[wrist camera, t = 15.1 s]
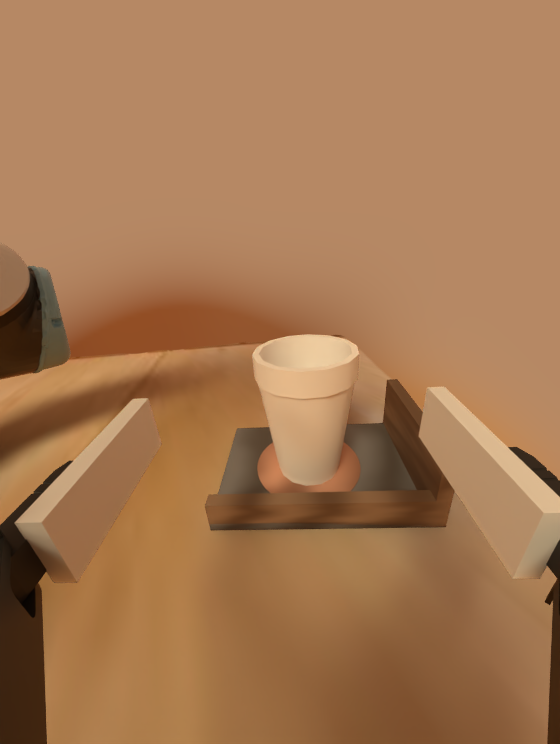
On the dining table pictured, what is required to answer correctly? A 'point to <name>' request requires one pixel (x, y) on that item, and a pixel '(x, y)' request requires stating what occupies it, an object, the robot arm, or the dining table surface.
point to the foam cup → (307, 401)
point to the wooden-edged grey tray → (338, 480)
